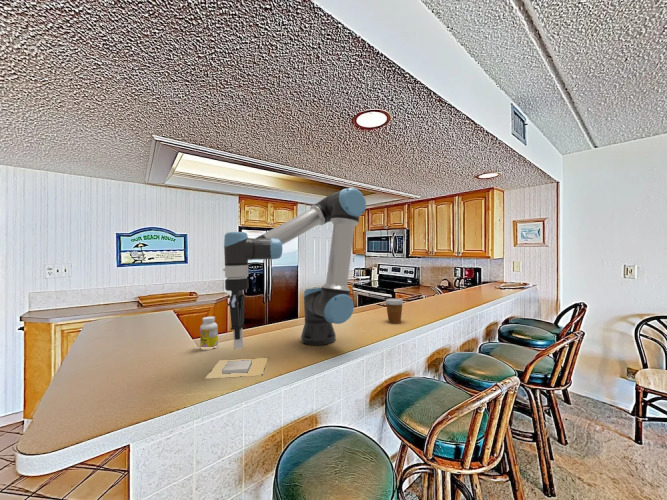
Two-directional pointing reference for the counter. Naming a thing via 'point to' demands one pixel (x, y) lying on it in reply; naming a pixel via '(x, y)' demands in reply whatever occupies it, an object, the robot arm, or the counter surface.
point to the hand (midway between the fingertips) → (238, 348)
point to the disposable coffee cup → (394, 310)
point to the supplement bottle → (209, 332)
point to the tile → (237, 367)
